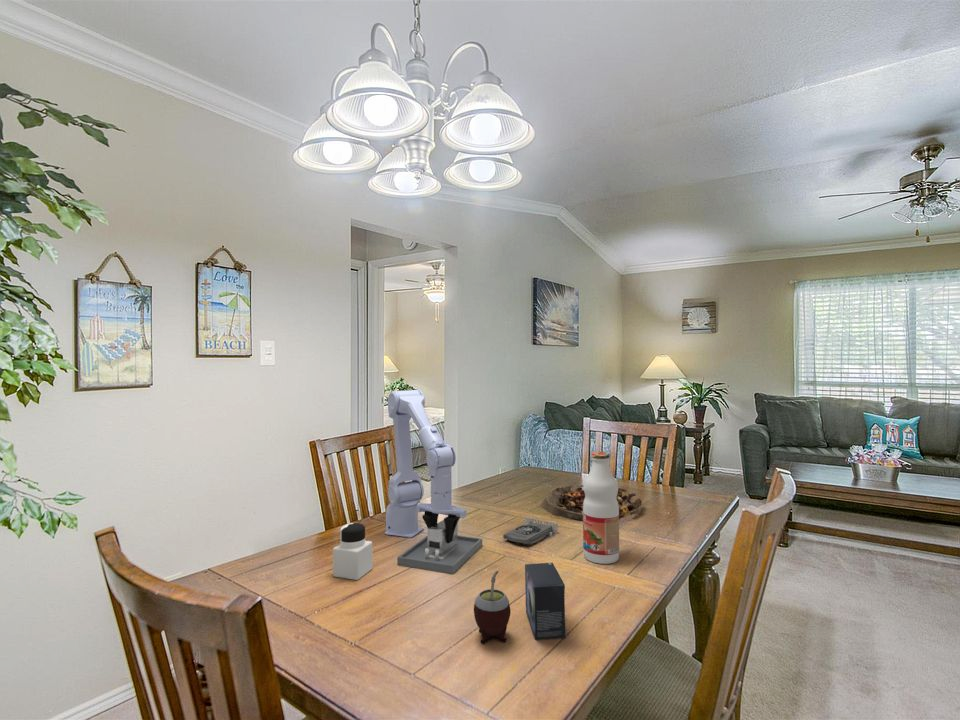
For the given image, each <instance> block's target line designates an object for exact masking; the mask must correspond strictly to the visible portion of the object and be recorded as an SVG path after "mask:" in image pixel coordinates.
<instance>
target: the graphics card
mask: <svg viewBox="0 0 960 720" xmlns="http://www.w3.org/2000/svg"><path fill="white" fill-rule="evenodd" d="M523 520H524V521H525V522H524V523H523V524H522V525H519V526H517V527H515V528H514V529H511V530H509V531H507V532H506V533H505V532H504V533H503V534H502V536H503V537H502V538H503V540H508V541H510V542H514V543H520V545H521V546H523V545H530V546H532V545H533V544H535V543H537V542H539V541H540V540H545V541H547V540H548V539H550V538H552V537H554V536H556V535H557V534H558V533H559V532H558V531H559V527H558V525H559V523H558V522H556V523H555V522H554V521H548V520H544V519H539V518H535V517H529V516H526V517H523ZM544 537H545V538H544Z"/></svg>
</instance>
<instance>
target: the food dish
mask: <svg viewBox="0 0 960 720" xmlns="http://www.w3.org/2000/svg"><path fill="white" fill-rule="evenodd" d="M573 487H574V486H573V485H570V486H568V485H567V486H562V487H555V488H553V489H552V490H551V491H549V492H548V493H547V494H546V495H545V497H544V499H543V501H542V503H540V509H543V511H546V512H547V513H549V514H551V515H553V516H555V517H561V518H565V519H571V520H577V521H583V502H584V499H585V493H584V489H583V488H582V487H583V484H582V485H580V486H578V487H577V488H575V489H573V490H572V488H573ZM571 490H572V491H571ZM627 492H628V490H627V489H624V488H621V487H620V488H619V487H618V493H617V496H616V498H617V501H618V505H619V520H621V519H623V518H625V517H627V516H632V515H640V514H641V513H642V512H641V511H642V503H643V501H642V498H639V497H637V499H635V501H634V503H633V504H632V500H631V499H632V498H633V497H635V496H636V495H637V494H636V493H634V492H633V493H628V494H627V495H623V493H627Z"/></svg>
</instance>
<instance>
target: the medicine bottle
mask: <svg viewBox="0 0 960 720" xmlns="http://www.w3.org/2000/svg"><path fill="white" fill-rule="evenodd" d="M339 533H340V536H339V537H340V544H338V545H337V546H334V547H333V549H332V571H333V572H332V573H333V574H332V576H333V577H335V578H341V579H348V580H353V581H359V579H361V578H363V577H364V576H366V574H367V573H369V572H371V570H373V563H374V562H373V560H374V559H373V542H372V541H370V540H366V526H365V524H363V523H359V522H349V523H346V524H344V525H342V526H341V527H340V531H339Z"/></svg>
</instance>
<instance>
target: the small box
mask: <svg viewBox="0 0 960 720" xmlns="http://www.w3.org/2000/svg"><path fill="white" fill-rule="evenodd" d="M524 580H525V581H524V583H525V614H526V616H527V619H528V622H529V625H530V629H531V632H532V635H533V636H534V637H533V638H534V640H536V641H539V640H554V639H555V640H556V639H566V637H567V633H566V632H567V631H566V608H565V607H566V603H565V602H566V601H565V597H566V596H565V589H566V586H565V583H564V581H563V579H562V577H561V576H560V574H559V572H558V570H557V567H556V566H555V565H554V563H553V562H542V563H540V562H538V563H525V564H524Z"/></svg>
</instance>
